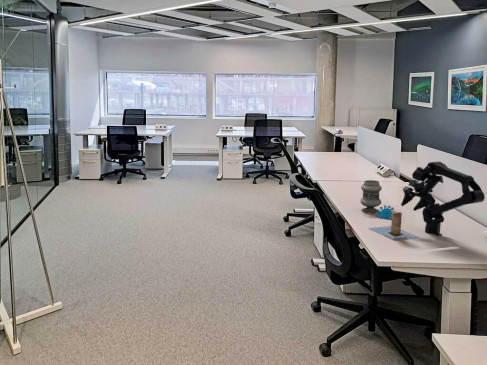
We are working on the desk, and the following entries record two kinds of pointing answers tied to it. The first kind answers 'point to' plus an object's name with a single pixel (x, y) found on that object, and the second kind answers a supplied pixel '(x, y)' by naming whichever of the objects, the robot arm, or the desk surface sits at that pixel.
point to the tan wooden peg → (396, 223)
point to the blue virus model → (385, 212)
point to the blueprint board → (388, 229)
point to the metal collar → (402, 236)
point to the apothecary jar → (371, 195)
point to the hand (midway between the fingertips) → (407, 207)
